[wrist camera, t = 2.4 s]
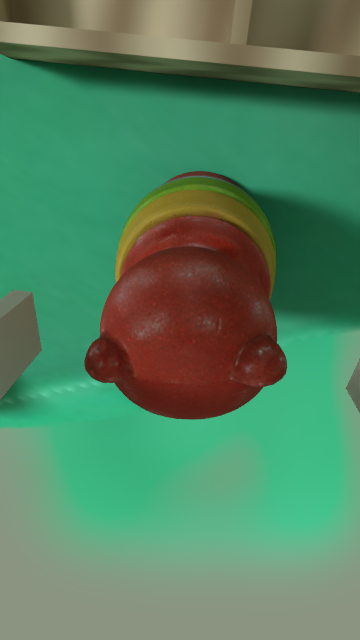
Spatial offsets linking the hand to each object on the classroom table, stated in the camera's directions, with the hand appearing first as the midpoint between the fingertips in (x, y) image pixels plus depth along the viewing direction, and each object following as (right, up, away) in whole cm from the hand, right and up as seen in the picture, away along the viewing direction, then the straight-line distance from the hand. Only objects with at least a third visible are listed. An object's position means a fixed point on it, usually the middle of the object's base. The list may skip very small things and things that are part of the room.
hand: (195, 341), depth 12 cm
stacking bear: (+1, +8, +13) cm, 15 cm away
